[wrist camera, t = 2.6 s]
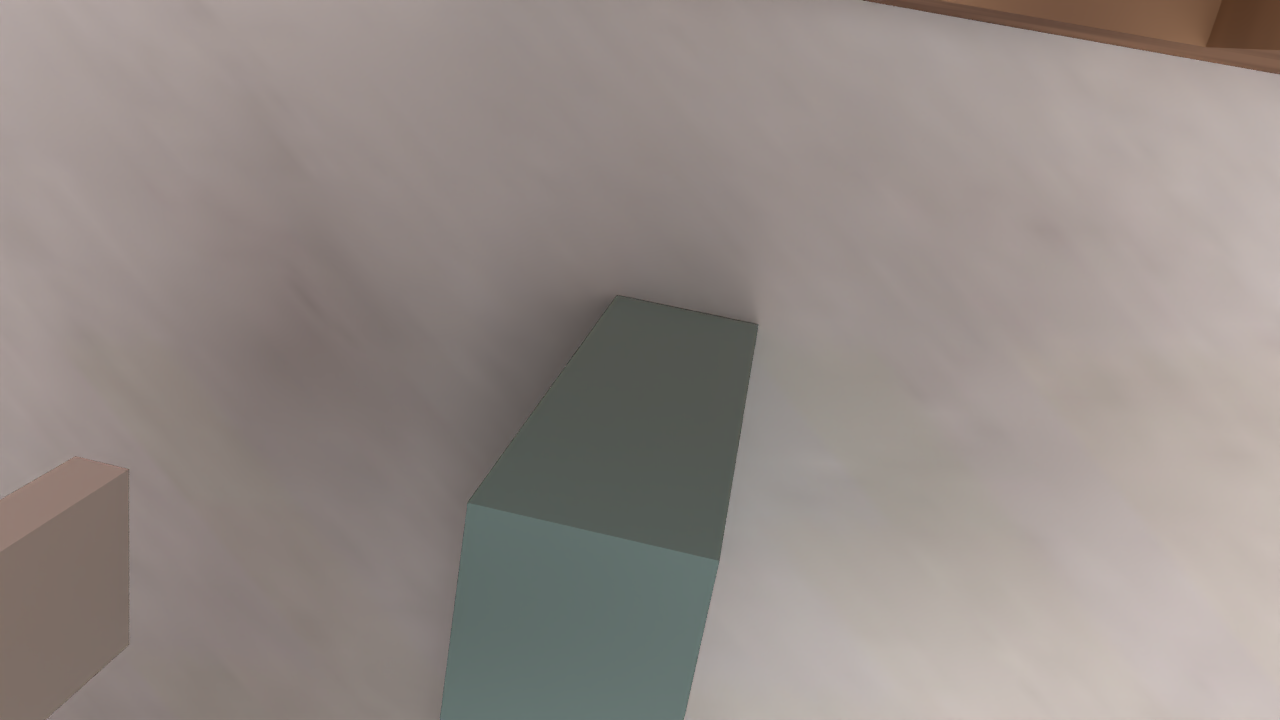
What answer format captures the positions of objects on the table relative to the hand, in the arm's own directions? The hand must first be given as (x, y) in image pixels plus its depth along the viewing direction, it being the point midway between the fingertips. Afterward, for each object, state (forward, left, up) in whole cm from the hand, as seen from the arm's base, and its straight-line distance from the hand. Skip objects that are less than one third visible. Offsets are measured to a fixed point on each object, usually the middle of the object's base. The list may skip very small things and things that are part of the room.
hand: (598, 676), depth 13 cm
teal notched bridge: (0, -6, -10) cm, 11 cm away
